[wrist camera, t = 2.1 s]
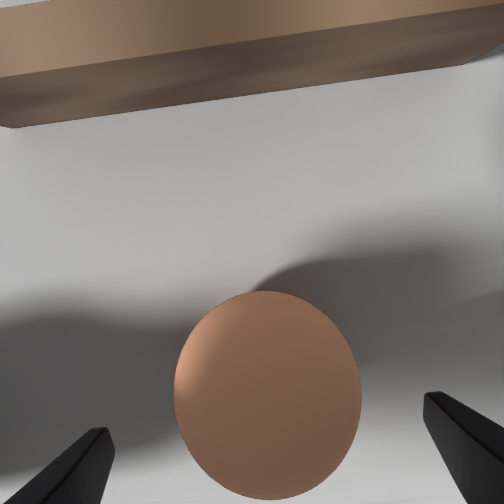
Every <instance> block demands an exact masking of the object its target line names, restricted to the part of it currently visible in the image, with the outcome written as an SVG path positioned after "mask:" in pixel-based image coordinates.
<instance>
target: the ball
mask: <svg viewBox="0 0 504 504" xmlns="http://www.w3.org/2000/svg"><path fill="white" fill-rule="evenodd" d="M174 407H175V413H176V419H177V422H178V426H179V429H180V432H181V435H182V438H183V440H184V442H185V444H186V446H187V448H188V450H189V451H190V453H191V455H192V456H193V458H194V459H195V461H196V462H197V463H198V464H199V466H200V467H201V468H202V469H203V470H204V471H205V472H206V473H207V474H208V475H209V476H210V477H211V478H212V479H214V480H215V481H216V482H218V483H219V484H220V485H222V486H223V487H225V488H227V489H228V490H230V491H232V492H234V493H237V494H239V495H242V496H246V497H250V498H254V499H261V500H279V499H286V498H290V497H293V496H296V495H299V494H302V493H305V492H307V491H309V490H311V489H313V488H314V487H316V486H317V485H319V484H320V483H321V482H323V481H324V480H325V479H326V478H327V477H328V476H329V475H331V474H332V473H333V472H334V471H335V469H336V468H337V467H338V466H339V465H340V463H341V462H342V460H343V459H344V457H345V455H346V454H347V452H348V450H349V449H350V447H351V445H352V442H353V439H354V437H355V434H356V431H357V428H358V424H359V419H360V412H361V384H360V377H359V373H358V369H357V365H356V361H355V358H354V356H353V354H352V352H351V349H350V347H349V345H348V343H347V341H346V339H345V338H344V336H343V335H342V333H341V332H340V330H339V329H338V328H337V326H336V325H335V324H334V323H333V322H332V321H331V320H330V318H328V317H327V316H326V315H325V314H324V313H323V312H321V311H320V310H319V309H318V308H316V307H315V306H313V305H312V304H310V303H309V302H307V301H304V300H302V299H300V298H298V297H296V296H293V295H290V294H286V293H282V292H276V291H255V292H249V293H244V294H241V295H238V296H235V297H233V298H230V299H228V300H226V301H225V302H223V303H221V304H220V305H218V306H216V307H215V308H214V309H212V310H211V311H210V312H209V313H207V314H206V315H205V316H204V317H203V319H202V320H201V321H200V322H199V323H198V324H197V325H196V326H195V328H194V329H193V331H192V332H191V334H190V335H189V337H188V339H187V341H186V343H185V345H184V347H183V349H182V351H181V354H180V357H179V360H178V364H177V367H176V373H175V379H174Z"/></svg>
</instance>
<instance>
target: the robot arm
mask: <svg viewBox="0 0 504 504" xmlns="http://www.w3.org/2000/svg"><path fill="white" fill-rule="evenodd" d="M423 419H424V422H425V425H426V427H427V429H428V431H429V433H430V435H431V437H432V439H433V441H434V443H435V445H436V447H437V448H438V450H439V452H440V454H441V456H442V458H443V460H444V462H445V464H446V466H447V468H448V470H449V472H450V474H451V476H452V478H453V479H454V481H455V483H456V485H457V487H458V489H459V490H460V492H461V494H462V495H463V497H464V499H465V500H466V502H467V504H504V427H502V426H500V425H498V424H497V423H495V422H493V421H491V420H490V419H488V418H486V417H485V416H483V415H481V414H479V413H478V412H476V411H474V410H473V409H471V408H469V407H467V406H466V405H464V404H462V403H461V402H459V401H457V400H455V399H454V398H452V397H450V396H449V395H447V394H445V393H443V392H441V391H436V392H427V393H425V395H424V406H423ZM114 456H115V448H114V444H113V441H112V438H111V436H110V433H109V430H108V428H106V427H98V428H92V429H90V430H89V431H88V432H87V433H85V434H84V435H83V436H82V437H81V438H79V439H78V440H77V441H76V442H75V443H74V444H72V445H71V446H70V447H69V448H68V449H67V450H65V451H64V452H63V453H62V454H61V455H60V456H58V457H57V458H56V459H55V460H54V461H53V462H51V463H50V464H49V465H48V466H47V467H46V468H44V469H43V470H42V471H41V472H40V473H39V474H37V475H36V476H35V477H34V478H33V479H32V480H30V481H29V482H28V483H27V484H26V485H25V486H23V487H22V488H21V489H20V490H19V491H18V492H16V493H15V494H14V495H13V496H12V497H11V498H9V499H8V500H7V501H6V502H5V503H4V504H100V503H101V499H102V496H103V493H104V490H105V486H106V483H107V480H108V476H109V473H110V470H111V467H112V463H113V460H114Z"/></svg>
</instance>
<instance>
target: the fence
mask: <svg viewBox="0 0 504 504" xmlns="http://www.w3.org/2000/svg"><path fill="white" fill-rule="evenodd" d="M502 43H504V0H51V1H44V2H38V3H31V4H25V5H19V6H12V7H6V8H0V126H2V127H7V128H18V127H25V126H33V125H40V124H47V123H54V122H61V121H68V120H75V119H82V118H89V117H96V116H103V115H110V114H117V113H124V112H131V111H138V110H145V109H153V108H160V107H167V106H174V105H181V104H188V103H195V102H202V101H209V100H216V99H223V98H230V97H237V96H244V95H251V94H258V93H265V92H273V91H280V90H287V89H294V88H301V87H308V86H315V85H322V84H329V83H336V82H343V81H350V80H357V79H364V78H371V77H378V76H386V75H393V74H400V73H407V72H414V71H421V70H428V69H435V68H442V67H449V66H456V65H462V64H464V63H466V62H468V61H470V60H472V59H474V58H476V57H478V56H479V55H481V54H483V53H485V52H487V51H489V50H491V49H493V48H495V47H496V46H498V45H500V44H502Z"/></svg>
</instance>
